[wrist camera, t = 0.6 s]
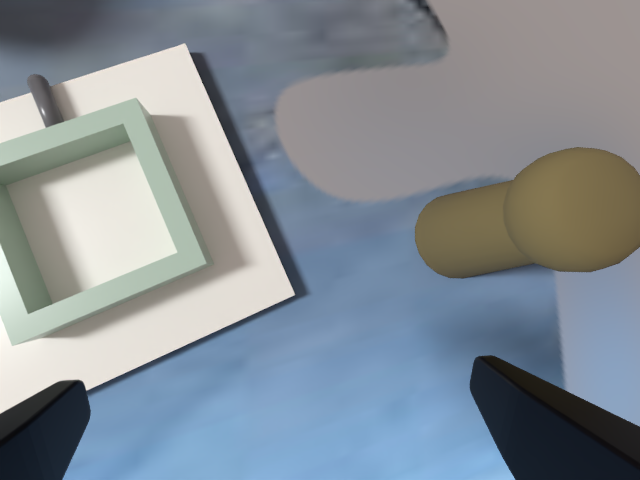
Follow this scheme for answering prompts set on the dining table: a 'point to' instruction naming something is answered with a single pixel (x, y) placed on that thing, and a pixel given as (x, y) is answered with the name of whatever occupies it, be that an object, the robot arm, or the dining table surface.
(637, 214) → the cork
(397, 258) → the dining table surface
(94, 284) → the dock plate
